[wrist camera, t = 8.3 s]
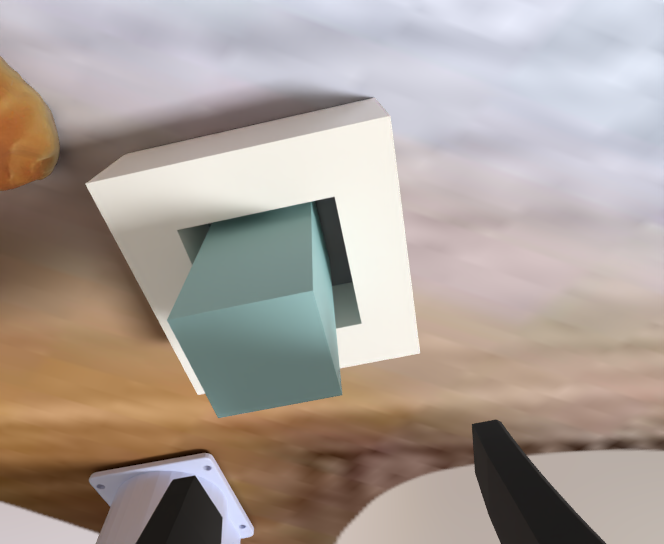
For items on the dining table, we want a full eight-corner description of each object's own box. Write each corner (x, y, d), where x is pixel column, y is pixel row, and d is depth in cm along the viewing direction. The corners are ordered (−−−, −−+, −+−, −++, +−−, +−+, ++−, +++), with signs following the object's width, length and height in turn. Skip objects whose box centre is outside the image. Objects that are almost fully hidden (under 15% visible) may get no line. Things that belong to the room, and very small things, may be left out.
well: (404, 305, 21) (420, 353, 18) (213, 343, 22) (197, 394, 19) (374, 97, 16) (390, 115, 13) (125, 154, 17) (85, 183, 14)
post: (329, 260, 19) (342, 394, 12) (249, 277, 19) (218, 418, 13) (310, 182, 17) (313, 290, 10) (221, 202, 17) (166, 320, 11)
